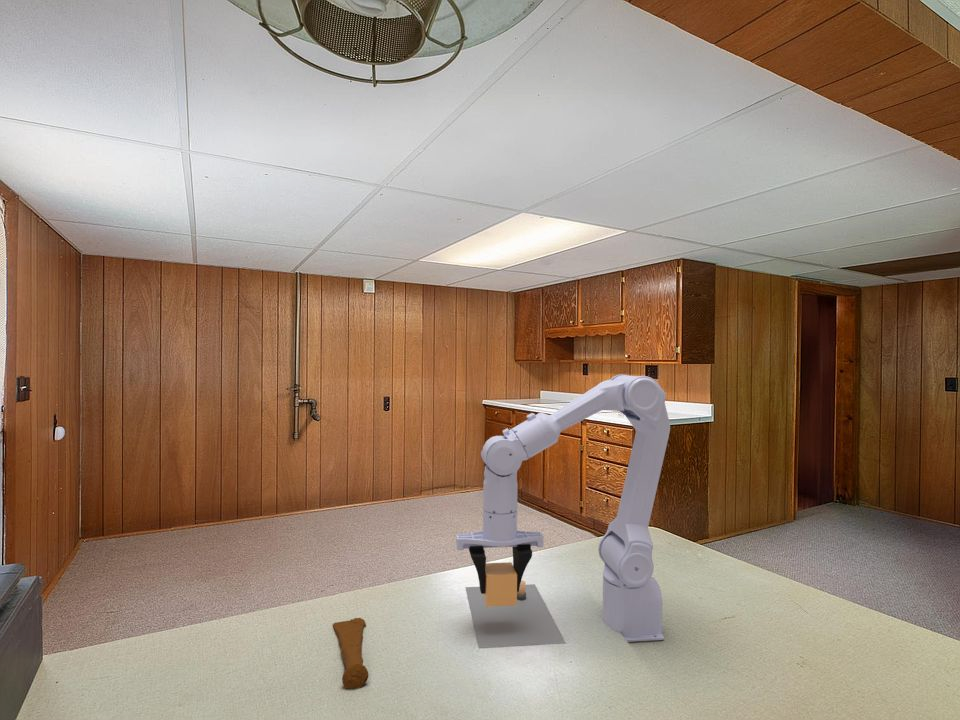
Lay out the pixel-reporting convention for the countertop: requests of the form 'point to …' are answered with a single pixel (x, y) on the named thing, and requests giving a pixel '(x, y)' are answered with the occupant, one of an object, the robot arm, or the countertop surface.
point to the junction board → (513, 620)
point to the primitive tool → (352, 651)
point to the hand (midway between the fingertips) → (499, 590)
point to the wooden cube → (500, 584)
